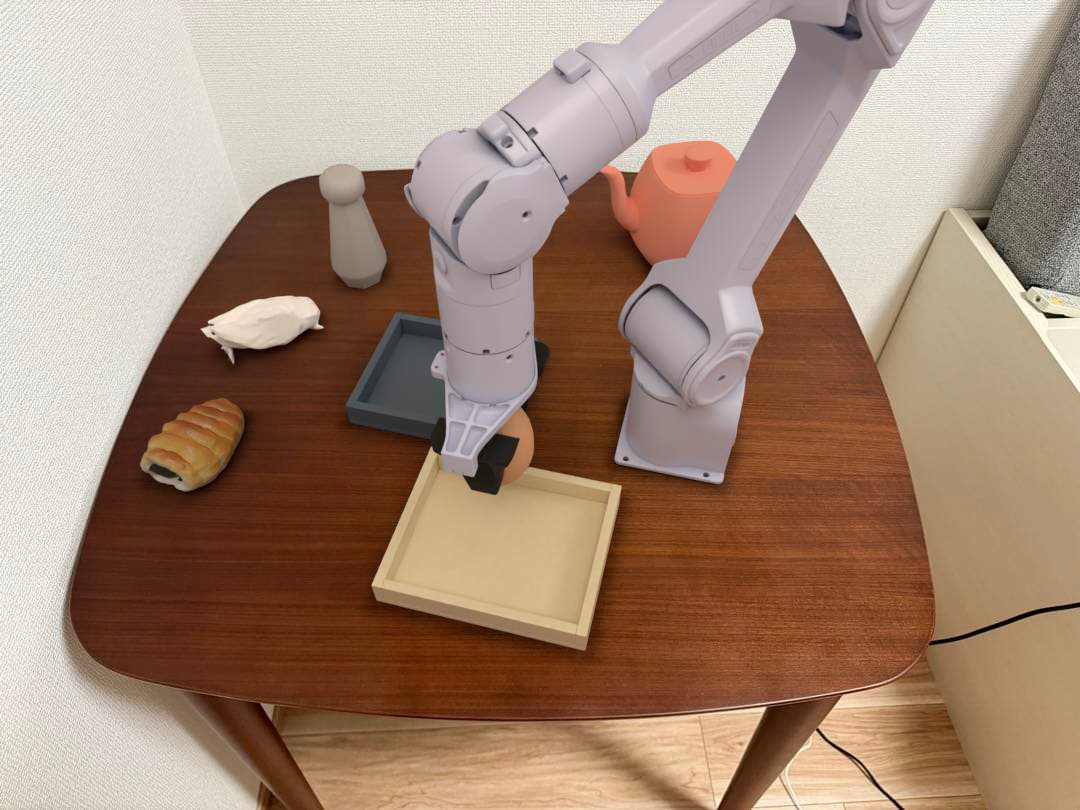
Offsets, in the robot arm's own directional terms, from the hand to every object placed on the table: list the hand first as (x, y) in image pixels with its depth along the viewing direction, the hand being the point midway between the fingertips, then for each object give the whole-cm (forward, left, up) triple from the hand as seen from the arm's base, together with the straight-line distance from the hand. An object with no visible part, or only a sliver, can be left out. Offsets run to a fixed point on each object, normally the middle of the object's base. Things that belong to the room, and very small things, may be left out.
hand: (497, 454), depth 61 cm
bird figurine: (+28, -15, -10) cm, 33 cm away
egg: (0, 0, -3) cm, 3 cm away
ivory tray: (-1, +2, -9) cm, 10 cm away
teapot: (-9, -39, -10) cm, 41 cm away
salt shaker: (+23, -26, -10) cm, 36 cm away
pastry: (+28, 0, -10) cm, 30 cm away
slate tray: (+9, -13, -9) cm, 19 cm away
